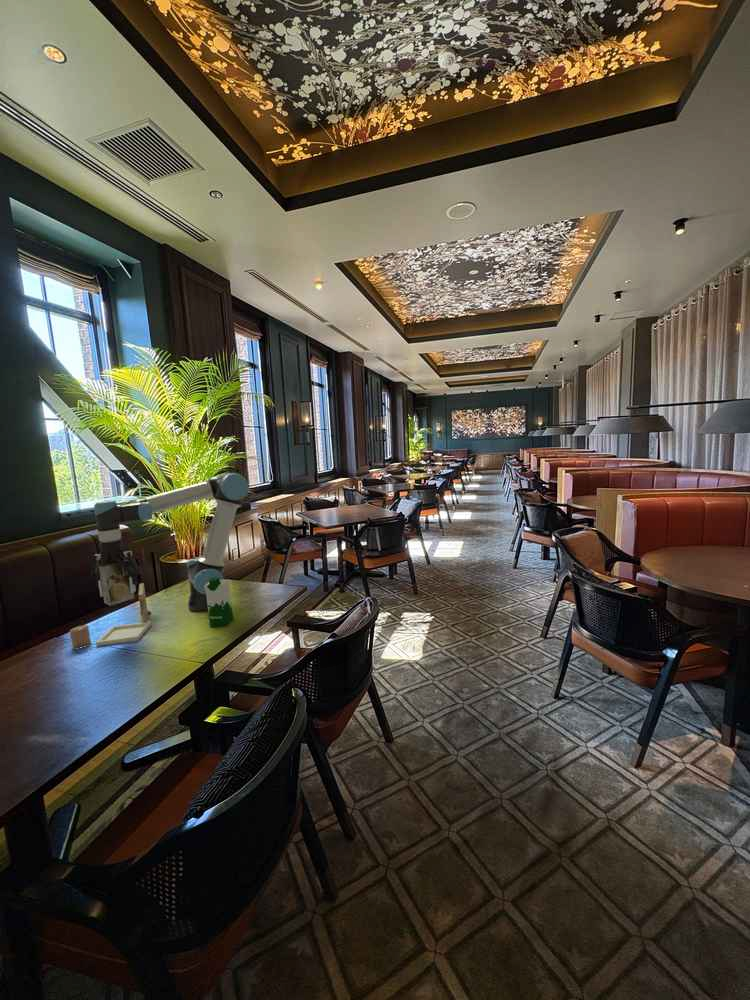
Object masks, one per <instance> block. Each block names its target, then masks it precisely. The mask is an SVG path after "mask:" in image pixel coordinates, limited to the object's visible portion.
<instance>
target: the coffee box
mask: <svg viewBox="0 0 750 1000" xmlns="http://www.w3.org/2000/svg"><path fill="white" fill-rule="evenodd" d="M123 563H125V564H126V565H128V566H129V567H131V565H130V562H129V560H128V559H125V561H123ZM99 571H100V579H101V585H102V591H103V602H104V604H106V605H108V606H114V605H117V604H120V603H124V602H126V601H130V600H132V599H135V592H134V593H131V587H130V580H129V577H131V576H130V574H129V573H128V572H127V571H126V570H125V569H124V568H123V566H122V564H120V563H118V562H117V563H107V564H102V563H99V564H98V572H99Z"/></svg>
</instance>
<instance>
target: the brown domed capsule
mask: <svg viewBox="0 0 750 1000" xmlns="http://www.w3.org/2000/svg"><path fill="white" fill-rule="evenodd" d="M69 635H70V640H71V641H70V643H71V647H73V648H80V647H84V646H87V645H89V644H90V645H91V644H92V641H91V634H90V628H89V625H88V624H85V625H79V626H75V627H73V628H71V629H70V630H69ZM90 645H89V646H90ZM87 647H88V646H87ZM73 648H72V649H73Z"/></svg>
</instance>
